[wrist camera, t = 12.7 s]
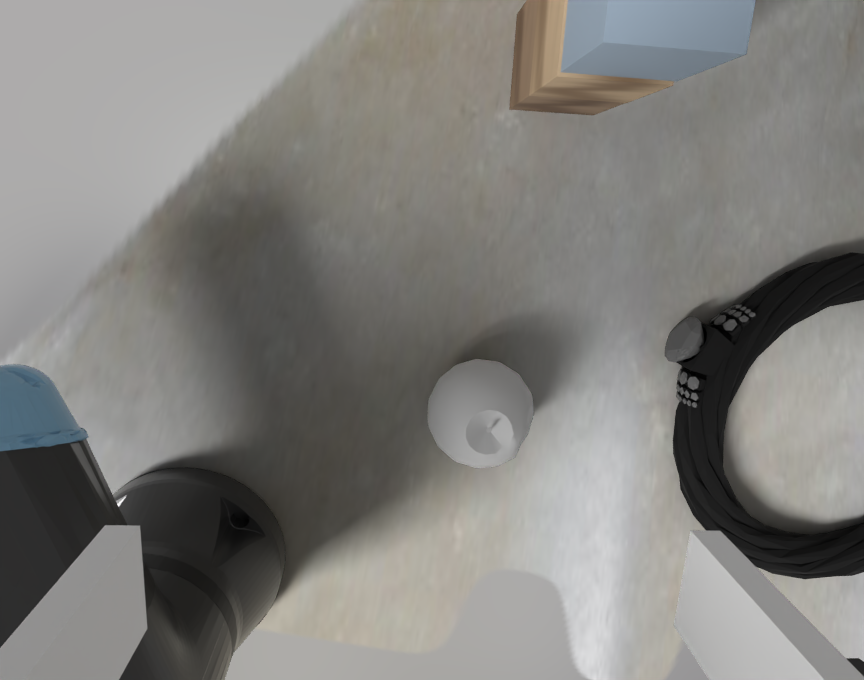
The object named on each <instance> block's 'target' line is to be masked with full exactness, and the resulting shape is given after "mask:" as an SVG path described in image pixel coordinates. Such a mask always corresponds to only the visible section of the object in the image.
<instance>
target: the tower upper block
mask: <svg viewBox="0 0 864 680" xmlns="http://www.w3.org/2000/svg"><path fill="white" fill-rule="evenodd" d="M567 4H568V0H538V4H537V15H536V26H535V37H534V48H533V60H532V71H531V82H530V93H529V96H538V97H552V98H565V99H579V100H593V101H606V102H620V103H628V102H631V101H633V100H636V99H639V98H641V97H644V96H646V95H649V94H652V93H654V92H657V91H660V90H662V89H665V88H668V87H670V86H673V83H674V81H665V80H652V79H639V78H627V77H614V76H601V75H588V74H576V73H563V72H561V63H562V53H563V44H564V34H565V24H566V14H567Z"/></svg>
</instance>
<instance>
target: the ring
mask: <svg viewBox="0 0 864 680" xmlns="http://www.w3.org/2000/svg"><path fill="white" fill-rule="evenodd" d="M861 300H864V254H861V253H848V254H845V255H842V256H838V257H835V258H831V259H828V260H825V261H821V262H816V263H809V264H807V265H804V266H802V267H799V268H797V269H794V270H791V271H789V272H786V273H785V274H783V275H781V276H780V277H778V278H777V279H775V280H773V281H772V282H770V283H768V284H767V285H765V286H763V287H762V288H760V289H759V290H758V291H756V292H755V293H754V294H752V295H751V296H750V297H749V298H747V299H746V300H745V301H744V302H742V303H741V304H740V305H738V304H737V305H733V306H731V307H730V308H729V309H726V310H724V311H722V312H721V313H720V314H721V316H720V315H717V316H715V317H714V318H712V319H711V321H710V324H712V325H711V326H712V327H714V328H712V327H710V326H708V325H705V324H703V323H701V321H700V320H699V319H698V318H697V317H688V318H686V319H685V320H683V321H682V322H680V323H679V324H678V325H677V326H676V327H675V328H674V329H673V330H672V331H671V332H670V334H669V337H668V340H667V343H666V346H665V357H666V358H667V359H668V360H669V361H672V362H677V363H679V364H680V365H682V366H684V367H685V368H687V369H689V370H690V371H688V370H686V369H684V370H682V368H681V369H680V371H679V374H678V380H680V382H678V380H677V395H676V397H677V398H678V399H679V401H680V402H679V404H678V407H677V410H676V416H675V426H674V436H673V454H674V458H675V462H676V466H677V470H678V473H679V478H680V487H681V491H682V493H683V495H684V497H685V499H686V501H687V503H688V505H689V507H690V509H691V511H692V513H693V515H694V516H695V518H696V519H697V520H698V521H699V522H700V524H701V525H702V526H703V527H704V528H705V530H706V531H721V532H722V533H723V534H724V535H725V536H726V537H727V538H728V539H729V540H730V541H731V542H732V543H733V544H734V545H735V546H736V547H737V548H738V549H739V550H740V551H741V552H742V553H743V554H744V555H745V556H746V557H747V558H748V559H749V560H750V562H751V563H752V564H753V565H754V566H756V567H758V568H761V569H764V570H766V571H768V572H770V573H773V574H778V575H784V576H790V577H796V578H802V579H810V578H821V577H832V576H852V575H856V574H859V573H862V572H864V523H862V524H860V525H855V526H852V527H848V528H845V529H841V530H838V531H834V532H831V533H826V534H819V535H812V536H810V535H803V534H796V533H788V532H785V531H782V530H779V529H775V528H772V527H769V526H766V525H763V524H762V523H760V522H759V521H757V520H756V519H754V518H753V517H751V516H750V515H749V514H748V513H747V512H746V511H745V509H744V508H743V507H742V506H741V504H740V503H739V502H738V500H737V499H736V497H735V495H734V493H733V490H732V488H731V486H730V484H729V482H728V480H727V478H726V476H725V474H724V470H723V442H724V429H725V423H726V418H727V413H728V408H729V405H730V403H731V402H732V400H733V398H734V396H735V394H736V392H737V390H738V388H739V387H740V385H741V383H742V381H743V379H744V377H745V375H746V373H747V371H748V370H749V368H750V366H751V365H752V364H753V362H754V361H755V360H756V358H757V357H758V356H759V355H760V354H761V353H762V352H763V351H764V350H765V349H766V348H768V347H769V346H770V345H771V344H772V343H773V342H774V341H775V340H776V339H777V338H778V337H779V336H780V335H781V334H782V333H783V332H785V331H786V330H787V329H789V328H790V327H791V326H793V325H794V324H796V323H798V322H800V321H802V320H804V319H806V318H808V317H809V316H811V315H813V314H815V313H817V312H819V311H821V310H823V309H825V308H827V307H829V306H834V305H839V304H845V303H850V302H855V301H861Z"/></svg>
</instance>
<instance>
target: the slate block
mask: <svg viewBox="0 0 864 680" xmlns="http://www.w3.org/2000/svg"><path fill="white" fill-rule="evenodd" d="M755 1H756V0H568V4H567V14H566V24H565V34H564V44H563V53H562V63H561V72H563V73H576V74H588V75H601V76H614V77H627V78H639V79H652V80H665V81H679V80H681V79H684V78H687V77H689V76H692V75H694V74H697V73H700V72H702V71H705V70H707V69H710V68H712V67H715V66H718V65H720V64H723V63H725V62H728V61H730V60H733V59H736V58H738V57H741V56H743V55H746V54H747V48H748V42H749V36H750V31H751V25H752V19H753V13H754V7H755Z"/></svg>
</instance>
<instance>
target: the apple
mask: <svg viewBox="0 0 864 680" xmlns="http://www.w3.org/2000/svg"><path fill="white" fill-rule="evenodd" d="M533 416H534V407H533V396H532V394H531V392H530V390H529V389H528V387H527V386H526V384H525V383H524V381H523V379H522V378H521V376H520V375H519V374H518V373H517V372H515V371H514V370H512V369H510V368H509V367H507V366H505V365H504V364H502V363H500V362H498V361H490V360H482V359H474V360H470V361H467V362H463V363H460V364H457V365H455V366H454V367H452V368H451V369H450V370H449V371H447V372H446V373H445V374H444V375H443V376H441V377H440V378H439V380H438V381H437V383H436V385H435V387H434V389H433V391H432V393H431V395H430V397H429V399H428V419H427V421H428V426H429V428H430V431H431V433H432V435H433V438H434V440H435V442H436V444H437V446H438V447H439V448H440V449H441V450H442V451H443V452H445V453H446V454H447V455H448V456H449V457H450V458H451V459H453V460H454V461H455V462H458V463H461V464H464V465H467V466H471V467H474V468H487V467H497V466H499V465H501V464H503V463H505V462H507V461H509V460H511V459H513V458H515V457H516V454H517V452H518V450H519V447H520V445H521V443H522V442H523V441H524V439H525V438H526V436H527V435H528V432H529V429H530V425H531V422H532V419H533Z"/></svg>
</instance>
